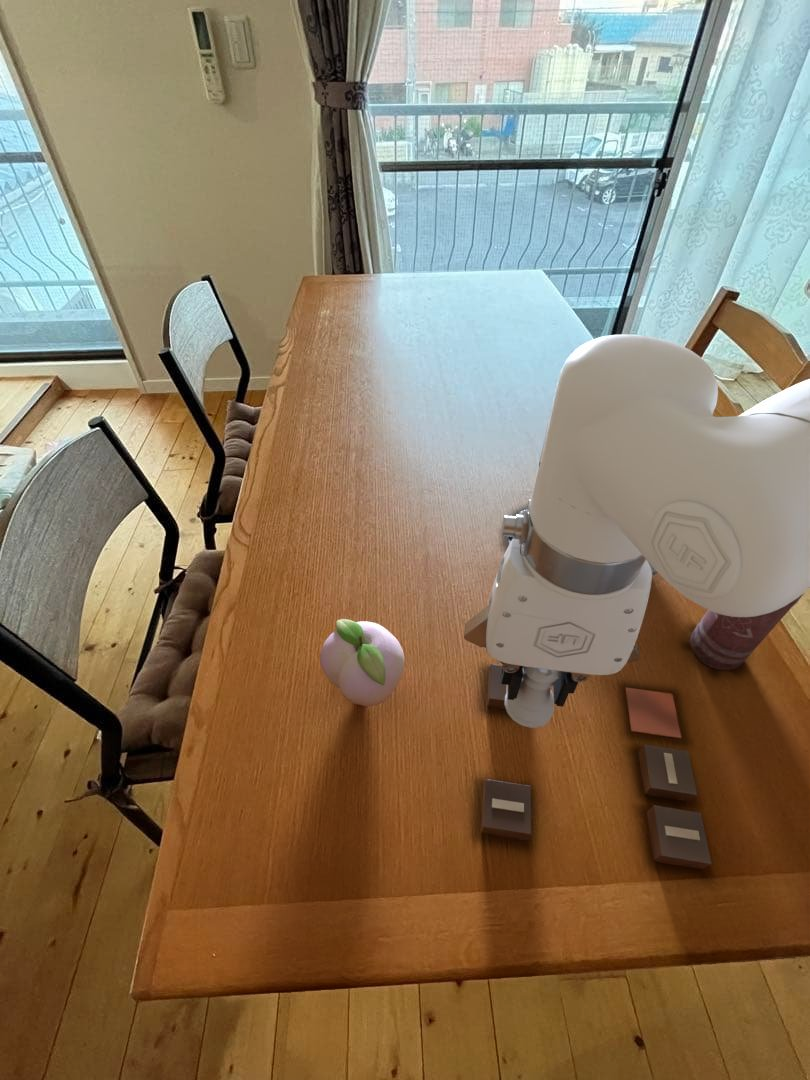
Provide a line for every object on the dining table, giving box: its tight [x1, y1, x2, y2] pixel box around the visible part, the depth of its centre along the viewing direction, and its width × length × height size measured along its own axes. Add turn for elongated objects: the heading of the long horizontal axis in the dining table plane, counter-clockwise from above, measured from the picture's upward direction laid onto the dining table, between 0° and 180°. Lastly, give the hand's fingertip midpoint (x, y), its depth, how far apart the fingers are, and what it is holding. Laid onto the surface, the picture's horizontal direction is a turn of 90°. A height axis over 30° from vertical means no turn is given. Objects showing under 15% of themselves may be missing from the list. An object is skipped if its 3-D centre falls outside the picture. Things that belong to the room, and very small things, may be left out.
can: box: [689, 593, 805, 671], centre depth 62 cm, size 6×6×14 cm
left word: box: [480, 663, 532, 841], centre depth 58 cm, size 17×4×2 cm, turn 172°
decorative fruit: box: [319, 618, 405, 707], centre depth 60 cm, size 9×8×10 cm
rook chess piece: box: [504, 666, 562, 729], centre depth 48 cm, size 4×4×8 cm
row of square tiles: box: [624, 687, 712, 870], centre depth 56 cm, size 18×5×2 cm, turn 172°
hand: (534, 686), depth 48 cm, fingers closed on rook chess piece, 3 cm apart
